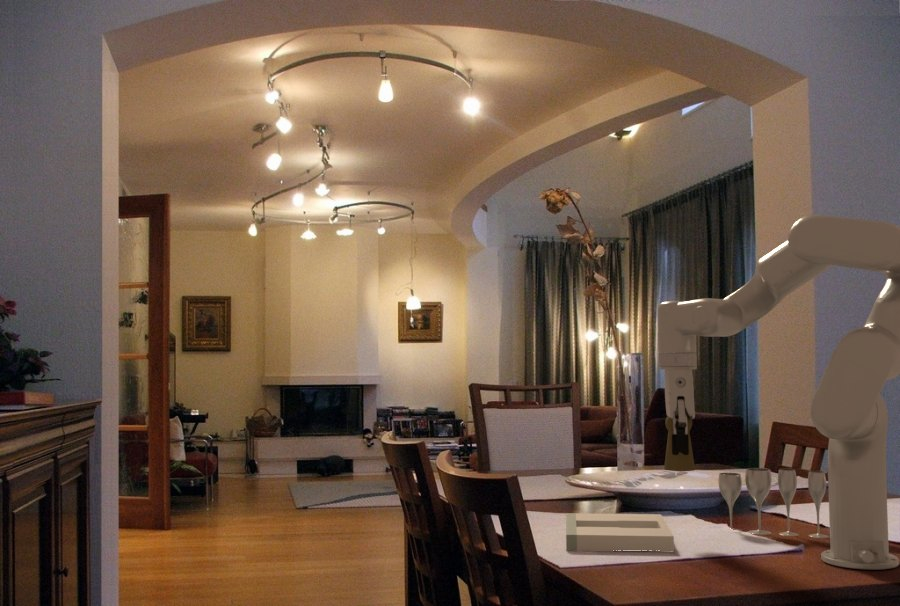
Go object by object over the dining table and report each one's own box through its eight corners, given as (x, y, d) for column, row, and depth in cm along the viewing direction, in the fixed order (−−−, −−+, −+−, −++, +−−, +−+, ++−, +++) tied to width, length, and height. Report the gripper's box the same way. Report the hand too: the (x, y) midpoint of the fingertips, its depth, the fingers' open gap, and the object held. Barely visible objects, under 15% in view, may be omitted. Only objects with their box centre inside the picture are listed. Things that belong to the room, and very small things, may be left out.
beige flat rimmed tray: (673, 552, 175) (673, 536, 175) (566, 550, 178) (566, 534, 178) (661, 528, 199) (660, 514, 199) (566, 527, 201) (566, 513, 202)
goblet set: (718, 532, 195) (716, 468, 195) (721, 528, 200) (719, 465, 201) (865, 542, 184) (862, 474, 184) (864, 536, 189) (862, 470, 190)
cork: (695, 471, 184) (694, 415, 185) (664, 470, 185) (663, 415, 186) (694, 467, 190) (693, 413, 190) (663, 467, 191) (662, 413, 192)
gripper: (701, 362, 180) (703, 458, 179) (691, 361, 196) (693, 449, 196) (662, 362, 181) (663, 458, 180) (655, 361, 198) (656, 449, 197)
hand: (679, 452), depth 188 cm, fingers closed on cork, 3 cm apart
